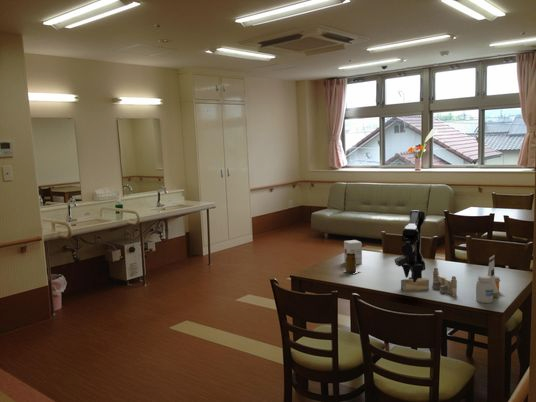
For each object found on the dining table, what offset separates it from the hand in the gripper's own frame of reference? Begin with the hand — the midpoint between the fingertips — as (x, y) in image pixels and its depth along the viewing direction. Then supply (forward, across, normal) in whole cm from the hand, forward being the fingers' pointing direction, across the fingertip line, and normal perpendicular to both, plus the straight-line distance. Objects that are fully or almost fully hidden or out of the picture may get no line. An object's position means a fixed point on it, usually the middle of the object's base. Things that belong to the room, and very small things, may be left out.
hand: (410, 279), depth 250 cm
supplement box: (+6, -62, -10) cm, 63 cm away
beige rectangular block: (+5, 0, +2) cm, 6 cm away
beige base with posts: (+5, +6, +15) cm, 17 cm away
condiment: (+6, -41, -18) cm, 45 cm away
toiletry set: (+6, +21, +32) cm, 39 cm away
